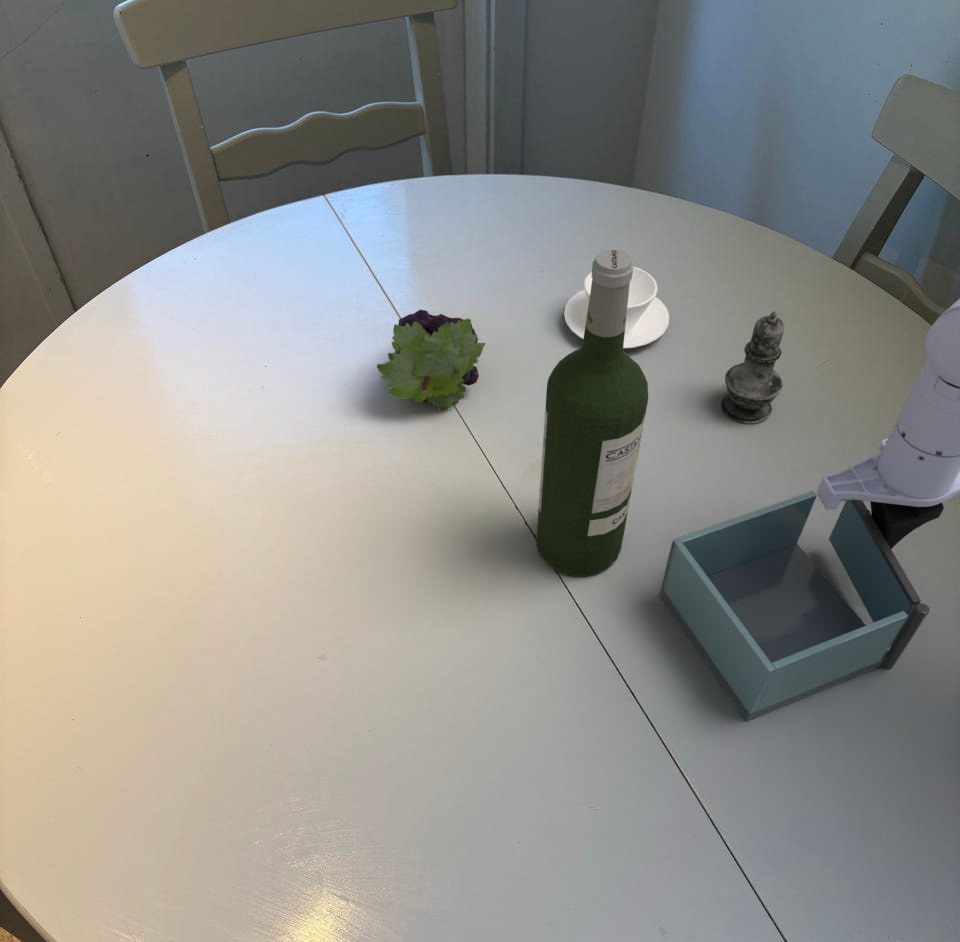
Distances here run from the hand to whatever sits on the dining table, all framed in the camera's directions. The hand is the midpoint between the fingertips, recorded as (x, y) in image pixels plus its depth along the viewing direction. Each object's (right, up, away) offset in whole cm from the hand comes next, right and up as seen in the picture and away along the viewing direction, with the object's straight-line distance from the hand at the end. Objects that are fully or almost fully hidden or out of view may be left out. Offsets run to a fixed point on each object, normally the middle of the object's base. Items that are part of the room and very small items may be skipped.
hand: (875, 547), depth 79 cm
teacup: (-19, +26, +27) cm, 42 cm away
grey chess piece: (-6, +15, +18) cm, 24 cm away
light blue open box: (-9, -7, 0) cm, 12 cm away
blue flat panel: (-1, -4, +1) cm, 4 cm away
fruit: (-39, +18, +20) cm, 47 cm away
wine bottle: (-25, 0, +6) cm, 26 cm away
